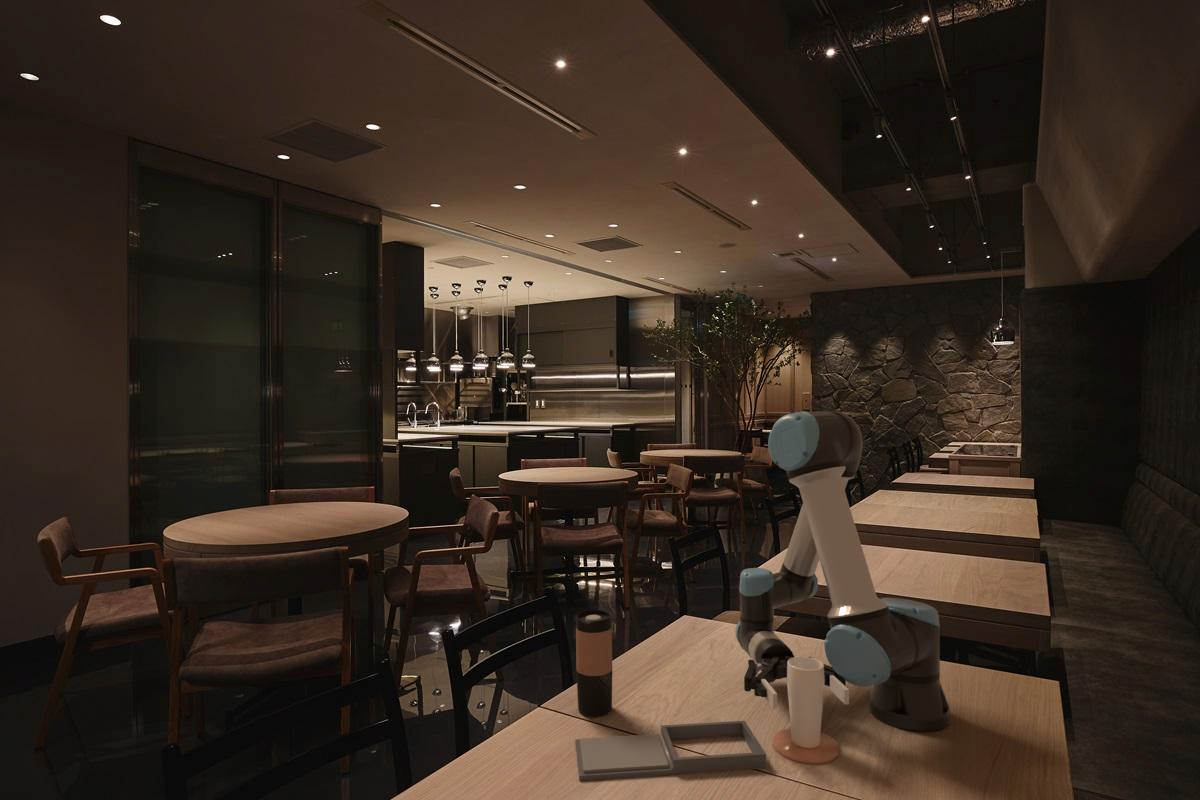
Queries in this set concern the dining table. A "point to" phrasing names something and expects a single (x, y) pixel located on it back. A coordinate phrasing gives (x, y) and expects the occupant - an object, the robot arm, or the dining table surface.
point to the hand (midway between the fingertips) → (811, 699)
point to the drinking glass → (805, 700)
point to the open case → (664, 752)
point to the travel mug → (594, 662)
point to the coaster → (805, 749)
